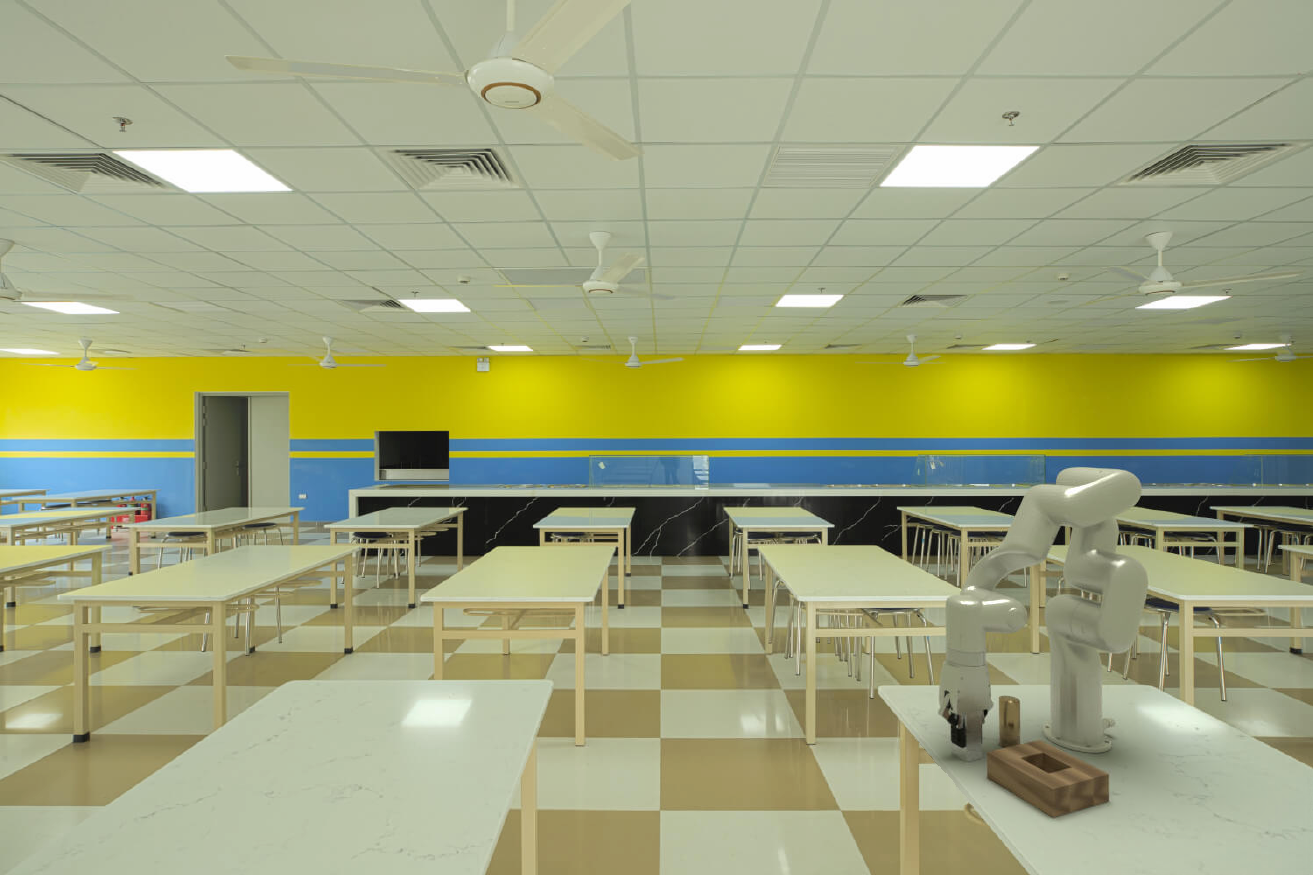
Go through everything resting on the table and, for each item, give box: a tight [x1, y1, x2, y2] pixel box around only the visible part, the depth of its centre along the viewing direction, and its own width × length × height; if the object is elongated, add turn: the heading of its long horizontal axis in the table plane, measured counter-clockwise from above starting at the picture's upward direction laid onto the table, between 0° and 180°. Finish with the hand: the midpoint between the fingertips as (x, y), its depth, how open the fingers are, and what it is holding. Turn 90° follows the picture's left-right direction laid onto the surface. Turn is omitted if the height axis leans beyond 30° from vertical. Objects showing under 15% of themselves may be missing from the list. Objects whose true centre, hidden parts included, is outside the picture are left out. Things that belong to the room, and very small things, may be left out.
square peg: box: [951, 710, 983, 763], centre depth 133 cm, size 4×4×10 cm
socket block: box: [986, 739, 1110, 818], centre depth 121 cm, size 14×14×5 cm
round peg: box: [998, 695, 1021, 749], centre depth 137 cm, size 4×4×10 cm
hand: (966, 742), depth 133 cm, fingers closed on square peg, 4 cm apart
